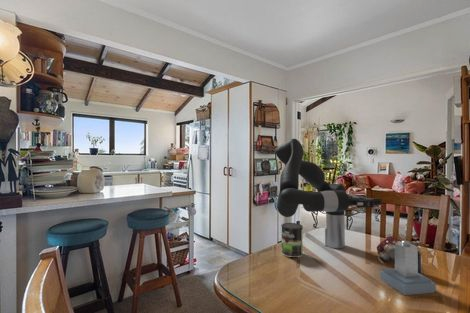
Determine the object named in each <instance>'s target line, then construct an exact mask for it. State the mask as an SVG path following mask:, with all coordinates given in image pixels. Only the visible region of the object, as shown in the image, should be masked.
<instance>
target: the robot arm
mask: <svg viewBox="0 0 470 313" xmlns="http://www.w3.org/2000/svg"><path fill="white" fill-rule="evenodd" d="M275 155H276V157H277V158H278V160H279V161H280V162H281V163H283V164H284V165H285V166H284V167H283V169H282V171H281V174H280V180H279V193H278V198H277V203H276V204H277V205H276V207H277V208H276V209H277V211H278V213H279V214H280V215H281V216H282V217H284V218H290V217H292V216H294V215H295V214H296V213H297V210H298V207H299V205H302V207H303V209H304V210H305V211H306V212H311V213H313V212H315V213H316V212H325V225H326V226H325V227H324V246H327V247H328V248H332V249H344V248H345V247H346V246H345V245H346V242H345V240H346V239H345V238H346V237H345V236H346V232H345V230H346V228H345V226H346V225H345V224H346V220H345V217H346V216H345V212H346V211H347V210H348V209H349V207H352V208H353V207H354V208H355V207H356V208H359V209H360V208H375V206H381V205H382V198H367V195H366V194H355V193H354V194H353V193H347V189H346V187H345V186H344V185H343V184H341V183H331V182H328V181H326V180H325V179H326V177H325V176H326V174H325V172H324V170H323V169H322V168H321V167H319V165H317V163H314V162H312V161H308V160H303V157H304V148H303V145H302V144H301V142H300V141H299V140H298V139H297V138H291V139H289V140H286V141H285V142H283V143H281V144H280V145H278V146H277V147H276V148H275ZM299 177H302V179H303V180H305V181H306V182H308V183H309V184H310V185H311V186H312V187H314V189H316V190H317V191H306V190H303V189H299V186H300V185H299V183H300V182H299V179H300V178H299Z"/></svg>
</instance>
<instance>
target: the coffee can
mask: <svg viewBox="0 0 470 313" xmlns="http://www.w3.org/2000/svg"><path fill="white" fill-rule="evenodd" d="M303 229H304V226H303V225H302V224H301V223H295V222H285V223H282V224H281V254H282V256H284V255H285V256H284V257H286V256H288V257H287V258H290V257H298V258H301V257H302V256H303V255H304V254H303ZM300 256H301V257H300Z"/></svg>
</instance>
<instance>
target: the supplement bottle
mask: <svg viewBox="0 0 470 313" xmlns="http://www.w3.org/2000/svg"><path fill="white" fill-rule="evenodd" d="M410 244H412V245H414V246H417V247H418V248H419V245H418V243H416V242H412V241H410ZM422 264H423V263H422V253H421V251H420V250H418V273H419V274H421V275H423V273H422V272H423V270H422V269H423V267H422Z"/></svg>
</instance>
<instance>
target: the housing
mask: <svg viewBox="0 0 470 313" xmlns="http://www.w3.org/2000/svg"><path fill="white" fill-rule="evenodd" d="M410 242H411V241H409V240H405V239H402V240H401V241H400V243H395V242H394V243H395V262H394V268H395V269H393V271H394V272H395V273H397V274H399V275H400V276H402V277H404V278H405V279H406V278H418V277H420V275H418V251H419V246H418V247H417V246H414V245H412V244H410Z"/></svg>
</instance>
